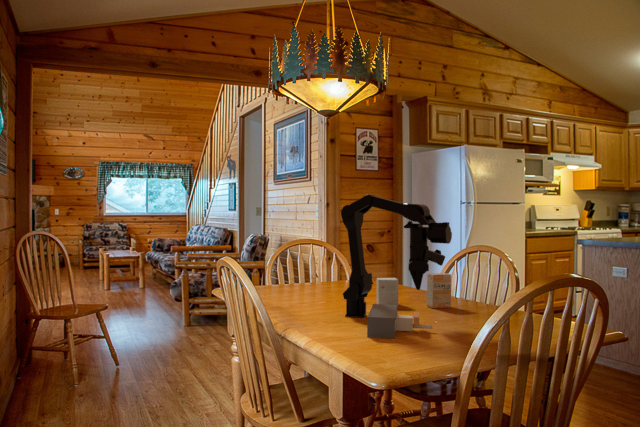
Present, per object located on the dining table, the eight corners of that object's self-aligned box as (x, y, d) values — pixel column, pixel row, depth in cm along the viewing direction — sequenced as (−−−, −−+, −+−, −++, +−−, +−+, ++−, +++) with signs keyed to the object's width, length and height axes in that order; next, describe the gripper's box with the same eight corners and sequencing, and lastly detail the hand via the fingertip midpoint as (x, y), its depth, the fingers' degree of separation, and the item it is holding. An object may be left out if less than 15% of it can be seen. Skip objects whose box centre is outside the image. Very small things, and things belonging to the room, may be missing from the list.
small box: (395, 303, 193) (396, 277, 193) (398, 306, 188) (398, 279, 188) (376, 303, 193) (376, 277, 193) (378, 306, 188) (378, 279, 187)
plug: (396, 330, 148) (396, 317, 148) (396, 327, 152) (396, 314, 152) (432, 332, 146) (432, 319, 146) (432, 329, 150) (432, 316, 150)
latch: (413, 325, 145) (413, 317, 145) (413, 319, 153) (413, 311, 153) (419, 326, 145) (419, 317, 145) (418, 320, 153) (418, 312, 153)
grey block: (367, 337, 142) (367, 316, 142) (373, 321, 162) (373, 303, 162) (395, 338, 140) (395, 318, 140) (397, 322, 160) (397, 304, 160)
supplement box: (432, 308, 183) (432, 274, 183) (426, 306, 188) (426, 273, 188) (451, 307, 185) (451, 274, 185) (445, 305, 190) (445, 272, 190)
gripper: (445, 244, 147) (445, 295, 147) (442, 240, 165) (441, 286, 165) (408, 244, 149) (408, 294, 149) (409, 240, 167) (409, 284, 167)
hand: (418, 289), depth 158 cm, fingers closed
